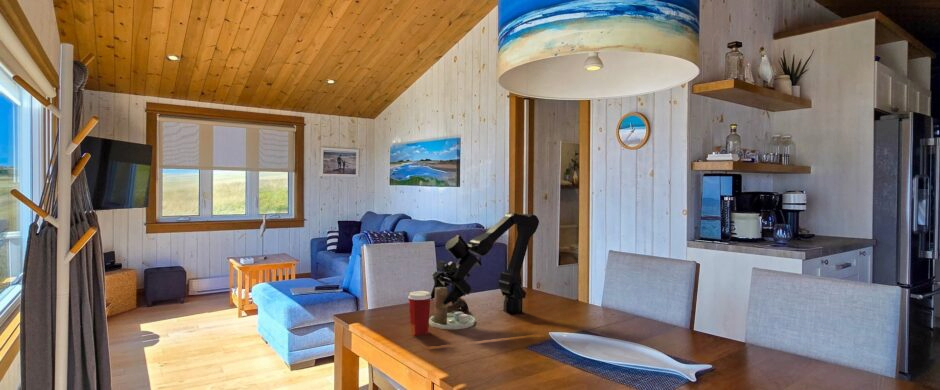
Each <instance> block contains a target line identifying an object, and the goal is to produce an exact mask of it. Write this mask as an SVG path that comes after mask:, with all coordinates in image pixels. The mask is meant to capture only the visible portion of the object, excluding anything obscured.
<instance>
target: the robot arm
mask: <svg viewBox="0 0 940 390" xmlns="http://www.w3.org/2000/svg"><path fill="white" fill-rule="evenodd" d="M539 224H540V220H539V217H538V216H537V215H535V214H530V213H529V214H528V213H522V214H518V213H515V212H507V213H505V215H504V216H503V217H502V218H501V219H500V220H499V221H497V222H496V223H495V224H494V225H493V226H492V227H490V229H488V230H487V231H486V232H485V233H482V234H479V235H477V236H476V237H474V238H472V239H471V240H470V241H469V242H468V241H467V242H466V241H465V240H464V239H463V237H462V236H461V235H458V234H456V235H455V236H454V237H453V238H450V239H449V240H448V241H447V242H446V243H445V246H444V247H445V250H446V251H448V252H449V253H450V254H451V256H452V257H453V258H454V259H457V260H458V261H457V262H454V261H448V262H445V261H442V260H438V263H437V266H436V270H437V271H435V272H433V274H432V279H433V282H434V283H433V287H432V290H431V292H430V296H431V298H430V300H433V299H435V288H436V287H446V288H448V286H449V287H450V291H449V292H448V295H447V297H446V298H445V300H444V302H443V304H444V305H446V304H447V305H448V304H450V303H451V302H452V301H453V300H455V299H458V298H462V297H463V296H464V297H465V296H466V295H468V296H469V295H470V293H471V292H472V286H471V284H470V283H468V281H466V278H470V276H471V275H470V273H471V271H472V270H473V268H474V267H475V266H476V265H477V266H482V265H483V263H482V258H481V257H477V255H478V256H487V254H488V253H489V252H490V251H491V250H492V249H493V247H494V244H495V242H496V241H497V240H498V239H500V237H502V236H503V235H504V234H505V233H507V231H508V230H509V229H510V228H512V227H513V226H514V225H516V232H517V237H516V240H515V244H514V247H513V250H512V255H511V258H510V260H509V264H508V268H507V270H506V271H505V272H503V271H502V272H500V275H499V276H500V277H499V280H498V282H497V283H498V288H499V290H500V292H501V294H502V296H504V300H503V309H502V311H503V312H504V313H506V314H508V315H510V316H513V315H520V314H525V311H523V300H524V299H526V296H527V292H526V291H525V289H524V288H523V287H522V277H521V271H522V268H523V264H524V261H525V257H526V255H527V249H528V246H529V243H530V240H531V238H532V236H533V235H534V234H535V233H536V232H537V229H538V227H539Z"/></svg>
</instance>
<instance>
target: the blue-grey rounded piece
mask: <svg viewBox="0 0 940 390" xmlns="http://www.w3.org/2000/svg"><path fill="white" fill-rule="evenodd" d="M453 313H454V320H455V321H459V315H461V314H465V313H464V312H463V311H453Z"/></svg>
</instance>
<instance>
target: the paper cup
mask: <svg viewBox="0 0 940 390" xmlns="http://www.w3.org/2000/svg"><path fill="white" fill-rule="evenodd" d="M430 295H431V292H430V291H426V290H425V291H424V290H416V291H411V292H409V295H408V296H407V298H408V301H409V304H408V306H409V323H410V335H411V337H413V338H416V336H426V335H427V334H428V333H429V328H430V326H429V325H430V324H429V319H430V309H431V296H430Z"/></svg>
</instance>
